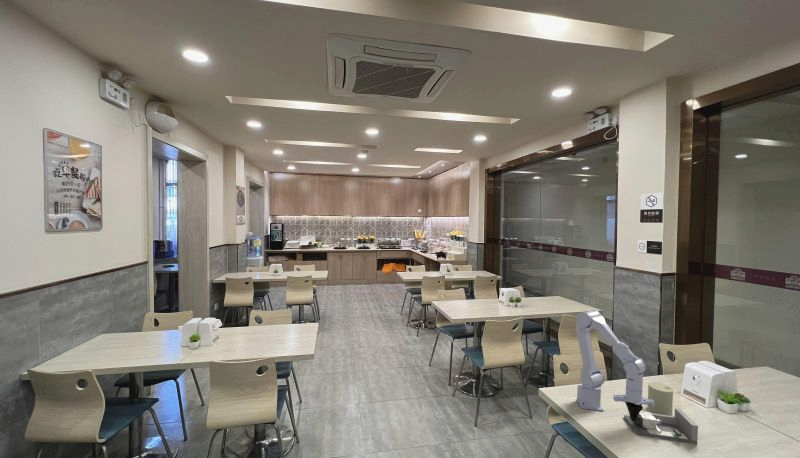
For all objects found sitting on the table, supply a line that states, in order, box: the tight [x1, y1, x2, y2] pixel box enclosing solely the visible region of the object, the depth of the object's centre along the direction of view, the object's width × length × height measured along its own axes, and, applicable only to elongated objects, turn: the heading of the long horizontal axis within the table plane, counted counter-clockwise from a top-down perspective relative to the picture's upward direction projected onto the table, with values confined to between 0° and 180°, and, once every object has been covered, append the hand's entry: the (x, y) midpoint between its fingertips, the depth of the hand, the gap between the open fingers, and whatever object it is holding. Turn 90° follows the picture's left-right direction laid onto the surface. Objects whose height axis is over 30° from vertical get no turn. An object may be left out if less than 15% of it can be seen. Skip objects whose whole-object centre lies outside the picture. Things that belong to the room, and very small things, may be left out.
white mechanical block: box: [636, 410, 662, 434], centre depth 138 cm, size 9×10×4 cm
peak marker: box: [673, 429, 681, 437], centre depth 133 cm, size 1×3×1 cm, turn 166°
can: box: [646, 381, 674, 416], centre depth 153 cm, size 9×9×12 cm
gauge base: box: [623, 408, 699, 445], centre depth 139 cm, size 21×12×7 cm, turn 76°
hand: (632, 419), depth 141 cm, fingers closed
